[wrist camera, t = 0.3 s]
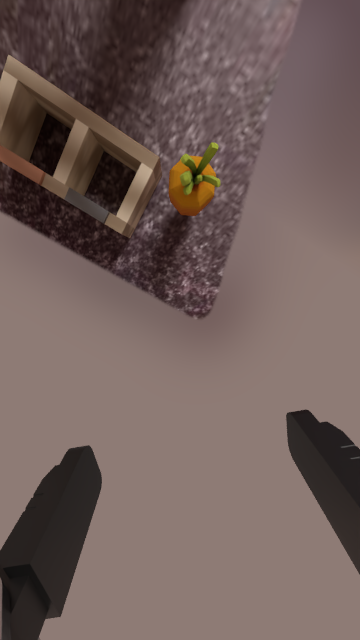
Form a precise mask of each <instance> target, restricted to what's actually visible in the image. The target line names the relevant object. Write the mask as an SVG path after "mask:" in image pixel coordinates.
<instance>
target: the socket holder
mask: <svg viewBox="0 0 360 640" xmlns="http://www.w3.org/2000/svg"><path fill="white" fill-rule="evenodd" d="M46 114H49V115H50V116H52V117H53V118H55V119H56V120H58V121H59V122H61V123H62V124H64V125H65V126H67V127H68V128H70V129H72V130H71V133H70V135H69V138H68V140H67V143H66V145H65V148H64V150H63V153H62V155H61V158H60V160H59V163H58V165H57V168H56V170H55V173H54V175H53V177H52V176H50V175H48V174H47V173H45V172H44V171H42V170H41V169H39V168H37V167H36V166H34V165H32V164H31V163H29V160H30V157H31V155H32V152H33V149H34V147H35V144H36V141H37V138H38V136H39V133H40V130H41V128H42V125H43V122H44V119H45V117H46ZM104 151H105V152H106V153H108V154H109V155H111V156H112V157H114V158H116V159H117V160H119V161H120V162H122V163H123V164H125V165H126V166H128V167H129V168H131V169H132V170H134V171H135V172H137V173H136V175H135V177H134V179H133V182H132V184H131V186H130V188H129V190H128V192H127V194H126V196H125V198H124V200H123V202H122V204H121V207H120V209H119V211H118V213H117V215H116V216H115V215H113V214H112V213H110V212H109V211H107V210H105V209H104V208H102V207H101V206H99V205H97V204H96V203H94V202H92V201H91V200H89V199H88V198H86V197H84V196H85V193H86V191H87V189H88V186H89V184H90V182H91V180H92V177H93V175H94V173H95V170H96V168H97V166H98V164H99V161H100V159H101V157H102V154H103V152H104ZM0 161H1V162H3V163H4V164H6V165H8V166H9V167H11V168H13V169H14V170H16V171H18V172H19V173H21V174H23V175H24V176H26V177H28V178H29V179H31V180H33V181H34V182H36V183H38V184H39V185H41V186H43V187H44V188H46V189H48V190H49V191H51V192H53V193H54V194H56V195H58V196H59V197H61V198H63V199H64V200H66V201H67V202H69V203H71V204H72V205H74V206H76V207H77V208H79V209H81V210H82V211H84V212H85V213H87V214H89V215H90V216H92V217H94V218H95V219H97V220H99V221H100V222H102V223H104V224H105V225H107V226H109V227H110V228H112V229H114V230H115V231H117V232H119V233H120V234H122V235H124V236H126V237H128V238H131V236H132V234H133V232H134V230H135V228H136V226H137V224H138V222H139V220H140V218H141V216H142V214H143V212H144V210H145V208H146V206H147V204H148V202H149V200H150V198H151V196H152V194H153V192H154V190H155V188H156V186H157V184H158V182H159V180H160V178H161V176H162V171H161V165H160V158H159V157H158V156H157V155H155V154H154V153H152V152H151V151H149V150H148V149H146V148H145V147H143V146H142V145H140V144H139V143H138V142H136V141H135V140H133V139H132V138H130V137H129V136H127V135H126V134H124V133H123V132H121V131H120V130H118V129H117V128H116V127H114V126H113V125H111V124H110V123H108V122H107V121H105V120H104V119H102V118H101V117H99V116H98V115H96V114H95V113H94V112H92V111H91V110H89V109H88V108H86V107H85V106H83V105H82V104H80V103H79V102H77V101H76V100H74V99H73V98H72V97H70V96H69V95H67V94H66V93H64V92H63V91H61V90H60V89H58V88H57V87H55V86H54V85H52V84H51V83H50V82H48V81H47V80H45V79H44V78H42V77H41V76H39V75H38V74H36V73H35V72H33V71H32V70H30V69H29V68H28V67H26V66H25V65H23V64H22V63H20V62H19V61H17V60H16V59H14V58H13V57H11V56H10V55H8V58H7V61H6V64H5V67H4V71H3V74H2V77H1V80H0Z"/></svg>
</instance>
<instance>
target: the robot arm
mask: <svg viewBox="0 0 360 640" xmlns="http://www.w3.org/2000/svg"><path fill="white" fill-rule="evenodd" d="M286 418H287V436H288V446H289V450H290V453H291V456H292V458H293V460H294V462H295V464H296V465H297V467H298V469H299V471H300V472H301V474H302V476H303V477H304V479H305V481H306V483H307V484H308V486H309V488H310V490H311V491H312V493H313V495H314V496H315V498H316V500H317V502H318V503H319V505H320V507H321V509H322V510H323V512H324V514H325V515H326V517H327V519H328V521H329V522H330V524H331V526H332V528H333V529H334V531H335V533H336V534H337V536H338V538H339V539H340V541H341V543H342V545H343V546H344V548H345V550H346V552H347V553H348V555H349V557H350V559H351V560H352V562H353V564H354V565H355V567H356V569H357V571H358V572H359V574H360V449H359V448H358V447H356V446H355V444H354V443H353V442H352V441H351V440H350V439H349V438H348V437H347V436H346V435H345V433H344V432H343V431H341V430H340V429H338V428H336V427H335V426H333V425H332V424H330V423H328V422H321V423H320V422H319V421H318V420H317V419H316V418H315V417H314V416H313V415H312V413H311V412H310V411H309V410H301V411H295V412H289V413H287V415H286ZM101 484H102V477H101V472H100V469H99V467H98V464H97V461H96V459H95V456H94V453H93V451H92V448H91V447H90V446H83V447H76V448H71V449H69V450H68V451H67V452H66V454H65V456H64V458H63V459H62V461H61V463H60V465H57V466H55V467H54V468H53V469H52V470H51V471H50V472H49V473H48V474H47V475H46V476H45V477H44V478H43V479H42V481H41V483H40V485H39V486H38V488H37V490H36V491H35V493H34V497H33V498H31V500H30V502H29V503H28V505H27V507H26V510H25V511H24V512H23V513H22V515H21V517H20V518H19V520H18V522H17V523H16V525H15V527H14V529H13V530H12V532H11V534H10V535H9V537H8V539H7V540H6V542H5V544H4V545H3V547H2V549H1V550H0V640H40V638H39V635H40V632H41V629H42V626H43V623H44V621H45V619H48V618H55V617H60V616H61V614H62V610H63V607H64V604H65V601H66V598H67V595H68V592H69V589H70V585H71V582H72V579H73V576H74V573H75V569H76V566H77V563H78V560H79V557H80V554H81V551H82V548H83V544H84V541H85V538H86V535H87V532H88V528H89V525H90V522H91V519H92V516H93V513H94V510H95V506H96V503H97V500H98V497H99V494H100V490H101Z"/></svg>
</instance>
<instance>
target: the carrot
mask: <svg viewBox="0 0 360 640" xmlns="http://www.w3.org/2000/svg"><path fill="white" fill-rule="evenodd" d="M217 150H218V144H216V143H213V142H212V143H211V144H210V145H209V147H208V148H207V150H206V152H205V154H204V156H203V157H198V156H189V155H188V154H185V155H183V156H182V157H181V160H180V161H179V162H178V163H177V164H176V165H175V166H174V167H173V168H172V169H171V170H170V176H169V198H170V201H171V203H172V204H173V205H174V207H175V208H176V209H177V210H178V212H179V213H180V214H181V215H188V216H196V215H197V214H198V213H199V212H200V211H201V210H202V209H203V208H204V207H205V206H207V204H208V203H209V202H210V201H211V200H212V198H213V197H214V189H215V186H216V187H219V186H220V180H219V179H218V178H216V173H215V172H214V170H213V169H212V168H211V166H210V165H209V164H208V163H209V162H210V160H211V159H212V158H213V156H214V155H215V153H216V152H217Z"/></svg>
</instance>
